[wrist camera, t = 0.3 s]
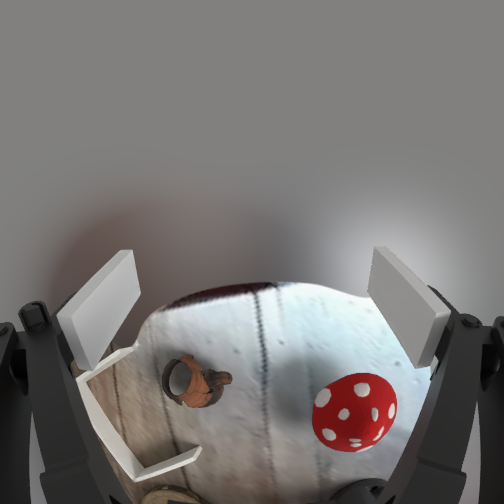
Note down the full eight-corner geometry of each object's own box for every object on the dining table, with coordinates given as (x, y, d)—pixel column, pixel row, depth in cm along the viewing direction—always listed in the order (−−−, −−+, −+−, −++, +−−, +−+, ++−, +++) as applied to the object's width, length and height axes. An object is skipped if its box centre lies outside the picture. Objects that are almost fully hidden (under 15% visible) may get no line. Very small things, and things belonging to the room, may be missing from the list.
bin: (202, 448, 44) (195, 460, 39) (144, 472, 44) (134, 482, 39) (131, 346, 49) (118, 349, 44) (81, 380, 49) (67, 384, 44)
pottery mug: (192, 413, 46) (160, 410, 40) (185, 367, 52) (155, 358, 46) (248, 399, 43) (220, 396, 37) (237, 349, 49) (210, 337, 43)
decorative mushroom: (384, 425, 42) (415, 458, 27) (312, 442, 43) (322, 485, 28) (379, 356, 45) (415, 372, 30) (302, 373, 46) (312, 399, 31)
